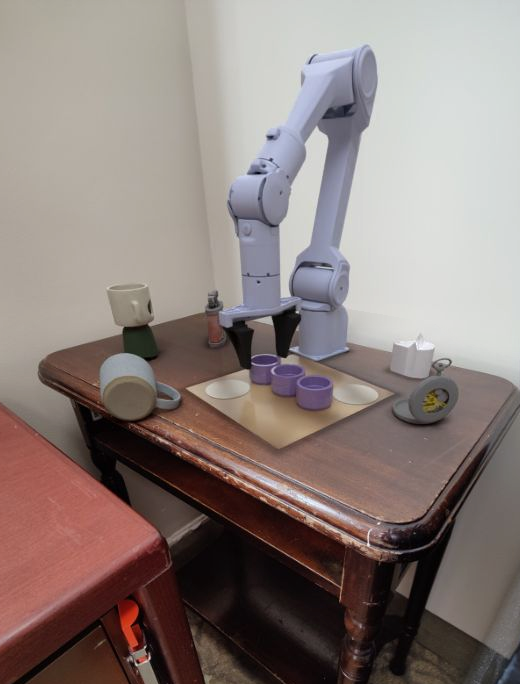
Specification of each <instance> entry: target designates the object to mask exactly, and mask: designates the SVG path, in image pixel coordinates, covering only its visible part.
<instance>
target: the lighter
mask: <svg viewBox="0 0 520 684" xmlns="http://www.w3.org/2000/svg"><path fill="white" fill-rule="evenodd" d="M218 298H219V291H218V289H212V291H211V292H208V293H207V303H206V305H205V306H204V313H205V314H206V321H207V329H208V338H209V339H208V346H209V347H210V348H212V349H213V348H218V347H219V348H220V347H221V346H224V345H225V344H226V342H227V334H226V332H225V331H224V329H223V327H222V325H220V321H219V312H220V311H224V301H223V300H218Z"/></svg>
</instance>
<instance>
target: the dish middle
mask: <svg viewBox="0 0 520 684" xmlns="http://www.w3.org/2000/svg"><path fill="white" fill-rule="evenodd" d="M304 376H306V370H305V368H304V367H302V366H300V365H295V364H282V365H278V366H275V367H273V368H272V369H271V389H272V390H273V392H274V394H275V395H277V396H280V397H287V398H290V397H296V383H297V380H298V379H299V378H301V377H304Z"/></svg>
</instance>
